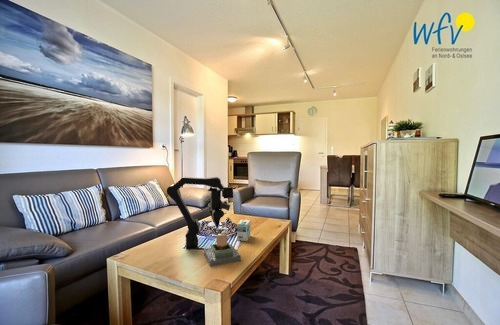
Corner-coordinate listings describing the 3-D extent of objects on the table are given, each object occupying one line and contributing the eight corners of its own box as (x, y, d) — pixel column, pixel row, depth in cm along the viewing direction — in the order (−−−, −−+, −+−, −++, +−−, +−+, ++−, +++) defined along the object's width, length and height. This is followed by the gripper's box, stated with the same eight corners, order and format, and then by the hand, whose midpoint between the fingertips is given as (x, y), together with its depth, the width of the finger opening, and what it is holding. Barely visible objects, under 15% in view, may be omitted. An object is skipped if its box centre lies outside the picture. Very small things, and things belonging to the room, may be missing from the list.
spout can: (218, 255, 122) (218, 236, 122) (215, 251, 127) (215, 233, 127) (231, 252, 125) (231, 235, 125) (228, 249, 130) (228, 231, 130)
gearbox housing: (210, 266, 115) (210, 255, 115) (203, 253, 130) (203, 243, 130) (240, 260, 121) (240, 250, 121) (231, 248, 136) (231, 239, 136)
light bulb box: (247, 241, 148) (247, 224, 148) (236, 240, 150) (236, 223, 149) (250, 235, 159) (250, 219, 158) (240, 235, 160) (240, 219, 160)
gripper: (232, 200, 134) (232, 227, 134) (225, 195, 152) (225, 219, 152) (213, 201, 130) (213, 229, 131) (208, 196, 148) (208, 220, 149)
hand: (215, 224), depth 141 cm, fingers open, 9 cm apart
